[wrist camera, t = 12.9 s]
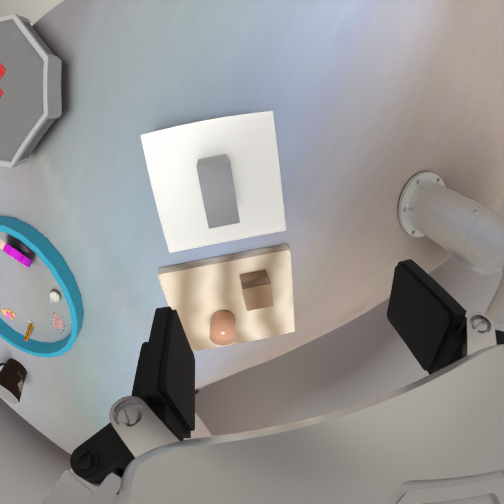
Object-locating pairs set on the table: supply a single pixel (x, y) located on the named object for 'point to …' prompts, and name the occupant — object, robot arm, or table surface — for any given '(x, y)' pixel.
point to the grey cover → (216, 180)
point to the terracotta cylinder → (222, 328)
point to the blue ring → (66, 283)
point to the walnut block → (256, 289)
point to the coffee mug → (12, 381)
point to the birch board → (230, 295)
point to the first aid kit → (25, 89)
